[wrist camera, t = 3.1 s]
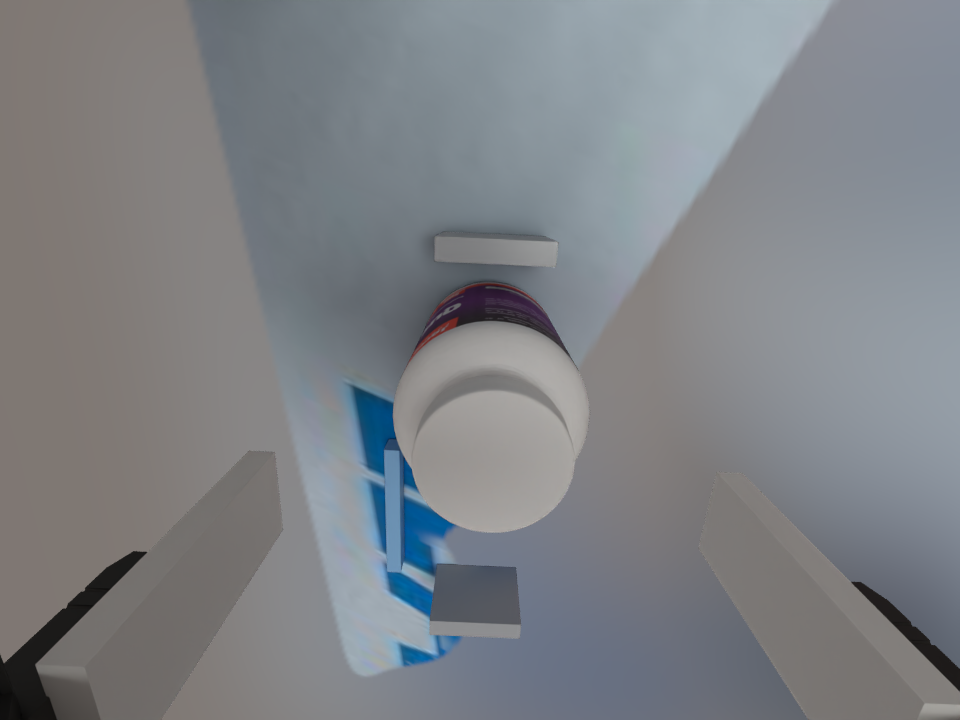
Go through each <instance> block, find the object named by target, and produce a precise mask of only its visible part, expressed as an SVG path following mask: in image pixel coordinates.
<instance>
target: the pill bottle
mask: <svg viewBox="0 0 960 720" xmlns="http://www.w3.org/2000/svg"><path fill="white" fill-rule="evenodd" d="M393 421H394V430H395V434H396V438H397V441H398V445H399V447H400V449H401V451H402V453H403V456H404V457H405V459H406V461H407V462H408V464H409V465H410V467H411V468H412V472H413V476H414V480H415V483H416V486H417V488H418V490H419V492H420V494H421V496H422V497H423V498H424V500H425V501H426V503H427V504H428V505H429V506H430V507H431V508H432V509H433V510H434V511H435V512H436V513H438V514H439V515H440V516H441V517H443V518H445V519H446V520H448V521H449V522H451V523H453V524H455V525H458V526H460V527H463V528H466V529H469V530H473V531H478V532H490V533H498V532H507V531H513V530H517V529H521V528H523V527H526V526H529V525H531V524H533V523H535V522H537V521H539V520H540V519H542V518H543V517H545V516H546V515H547V514H548V513H550V512H551V511H552V510H553V509H554V508H555V507H556V506H557V505H558V504H559V502H560V501H561V500H562V499H563V497H564V496H565V494H566V492H567V490H568V488H569V486H570V483H571V481H572V477H573V473H574V466H575V461H576V459H577V457H578V456H579V454H580V451H581V449H582V447H583V445H584V442H585V439H586V436H587V432H588V426H589V400H588V395H587V392H586V388H585V385H584V382H583V379H582V377H581V375H580V373H579V371H578V369H577V367H576V365H575V364H574V362H573V360H572V359H571V357H570V355H569V353H568V352H567V350H566V348H565V346H564V345H563V343H562V341H561V339H560V337H559V336H558V334H557V332H556V330H555V329H554V327H553V325H552V323H551V321H550V319H549V318H548V316H547V314H546V313H545V311H544V310H543V309H542V307H541V306H540V305H539V304H538V303H537V302H536V301H535V300H534V299H533V298H532V297H531V296H530V295H528V294H527V293H525V292H524V291H522V290H520V289H518V288H516V287H514V286H511V285H508V284H503V283H497V282H479V283H474V284H470V285H467V286H465V287H462V288H460V289H458V290H456V291H454V292H453V293H451V294H450V295H449V296H447V297H446V298H445V299H444V300H443V301H442V302H441V303H440V304H439V305H438V306H437V308H436V309H435V310H434V312H433V313H432V315H431V317H430V319H429V321H428V323H427V325H426V327H425V329H424V331H423V334H422V336H421V337H420V339H419V341H418V344H417V346H416V348H415V350H414V352H413V354H412V356H411V358H410V360H409V362H408V364H407V366H406V368H405V370H404V372H403V374H402V377H401V379H400V381H399V384H398V387H397V390H396V394H395V398H394V406H393Z"/></svg>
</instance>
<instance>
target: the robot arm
mask: <svg viewBox="0 0 960 720" xmlns="http://www.w3.org/2000/svg"><path fill="white" fill-rule="evenodd" d="M282 531H283V524H282V515H281V506H280V496H279V487H278V477H277V468H276V459H275V452H264V451H248V452H247V453H246V454H245V455H244V456H243V457H242V458H241V459H240V460H239V461H238V462H237V463H236V464H235V465H234V466H233V467H232V468H231V469H230V470H229V471H228V472H227V473H226V474H225V475H224V476H223V477H222V478H221V479H220V480H219V481H218V482H217V483H216V484H215V485H214V486H213V487H212V488H211V489H210V490H209V491H208V492H207V493H206V494H205V495H204V496H203V497H202V498H201V499H200V500H199V501H198V502H197V503H196V504H195V506H193V507H192V508H191V509H190V510H189V511H188V512H187V513H186V514H185V515H184V516H183V517H182V518H181V519H180V520H179V521H178V522H177V523H176V524H175V525H174V526H173V527H172V528H171V529H170V530H169V531H168V532H167V534H165V535H164V536H163V537H162V538H161V539H160V540H159V541H158V542H157V544H155V545H154V546H153V547H152V548H151V549H150V550H149V551H148V552H137V551H133V552H132V553H130V554H129V555H127V556H125V557H123V558H122V559H120V560H119V561H117V562H115V563H114V564H112V565H110V566H109V567H107V568H106V569H105V570H104V571H103V572H102V573H100V574H99V575H98V576H97V577H96V578H95V579H94V580H93V581H92V582H91V583H90V584H89V585H88V586H87V587H86V588H85V591H84V592H80V593H79V594H78V595H77V596H76V597H75V598H74V599H73V600H72V601H70V602H69V603H68V606H67V608H66V609H62V610H61V611H60V612H59V613H58V614H57V615H55V616H54V617H53V618H52V619H51V620H50V621H49V622H48V623H47V624H46V625H45V626H44V627H43V628H42V629H41V630H39V632H37V633H36V634H35V635H34V636H33V637H32V638H31V639H30V640H29V641H28V642H27V643H26V644H24V645H23V646H22V647H21V648H20V649H19V650H18V651H17V652H16V653H15V654H14V655H13V656H12V657H11V658H9V659H8V660H7V661H6V662H5V663H3V661H2V658H1V655H0V720H162V718H163V716H164V715H165V713H166V711H167V710H168V709H169V707H170V706H171V704H172V702H173V701H174V699H175V698H176V696H177V694H178V693H179V691H180V690H181V688H182V687H183V685H184V684H185V682H186V681H187V679H188V677H189V676H190V674H191V673H192V671H193V670H194V668H195V666H196V665H197V663H198V662H199V660H200V659H201V657H202V655H203V654H204V652H205V651H206V649H207V648H208V646H209V645H210V643H211V642H212V640H213V638H214V637H215V635H216V634H217V632H218V631H219V629H220V627H221V626H222V624H223V622H224V621H225V620H226V618H227V616H228V615H229V613H230V612H231V610H232V609H233V607H234V605H235V604H236V602H237V601H238V599H239V597H240V596H241V595H242V593H243V592H244V589H245V588H246V587H247V585H248V584H249V582H250V581H251V579H252V577H253V576H254V574H255V573H256V571H257V570H258V568H259V566H260V565H261V563H262V562H263V560H264V559H265V557H266V556H267V554H268V552H269V551H270V549H271V548H272V546H273V545H274V543H275V541H276V540H277V538H278V537H279V535H280V534H281V532H282ZM699 550H700V551H701V553H702V554H703V556H704V558H705V559H706V560H707V562H708V564H709V565H710V567H711V568H712V570H713V572H714V573H715V574H716V576H717V578H718V579H719V581H720V582H721V584H722V586H723V587H724V589H725V590H726V592H727V593H728V595H729V597H730V598H731V600H732V601H733V603H734V604H735V606H736V607H737V609H738V610H739V612H740V614H741V615H742V617H743V618H744V620H745V622H746V623H747V625H748V626H749V628H750V629H751V631H752V632H753V634H754V636H755V637H756V639H757V640H758V642H759V643H760V645H761V647H762V648H763V650H764V651H765V653H766V654H767V656H768V658H769V659H770V661H771V662H772V664H773V665H774V667H775V668H776V670H777V671H778V673H779V674H780V676H781V678H782V679H783V681H784V682H785V684H786V686H787V687H788V689H789V690H790V692H791V693H792V695H793V697H794V698H795V700H796V701H797V703H798V704H799V706H800V707H801V709H802V711H803V712H804V714H805V715H806V717H807V718H808V720H960V669H959V668H958V667H957V666H956V665H955V664H954V663H953V662H951V660H950V659H949V658H948V657H947V656H945V654H943V653H942V652H941V651H940V650H939V649H938V648H937V647H936V646H935V645H931V643H930V640H929V639H928V638H927V637H926V636H925V635H924V634H923V633H921V631H919V630H918V629H917V628H916V627H913V626H912V625H911V622H910V621H909V620H908V619H907V618H906V617H905V616H904V615H903V614H902V613H901V612H900V611H899V610H898V609H897V608H896V607H894V606H893V605H892V604H891V603H890V602H889V601H888V600H887V599H885V598H884V597H882V596H881V595H879V594H878V593H876V592H875V591H873V590H872V589H870V588H869V587H867V586H866V585H864V584H863V583H861V582H850V581H849V580H848V579H847V578H846V577H845V576H844V575H843V574H842V573H841V572H840V571H839V570H838V569H837V568H836V567H835V566H834V565H833V564H832V563H831V562H830V561H829V560H828V559H827V558H826V557H825V556H824V555H823V554H822V553H821V552H820V551H819V550H818V549H817V548H816V547H815V546H814V545H813V544H812V543H811V542H810V541H809V540H808V539H807V538H806V537H805V536H804V535H803V534H802V533H801V532H800V531H799V530H798V529H797V528H796V527H795V526H794V525H793V524H792V523H791V522H790V521H789V520H788V519H787V518H786V517H785V516H784V515H783V514H782V513H781V512H780V511H779V510H778V509H777V508H776V507H775V506H774V505H773V504H772V503H771V502H770V501H769V500H768V499H767V498H766V497H765V495H764V494H762V492H761V491H759V490H758V488H757V487H756V486H754V484H753V483H752V482H751V481H750V480H749V479H748V478H746V476H744V474H743V473H727V472H717V473H716V477H715V481H714V486H713V489H712V494H711V498H710V502H709V506H708V510H707V515H706V519H705V523H704V528H703V531H702V536H701V540H700V544H699Z"/></svg>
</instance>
